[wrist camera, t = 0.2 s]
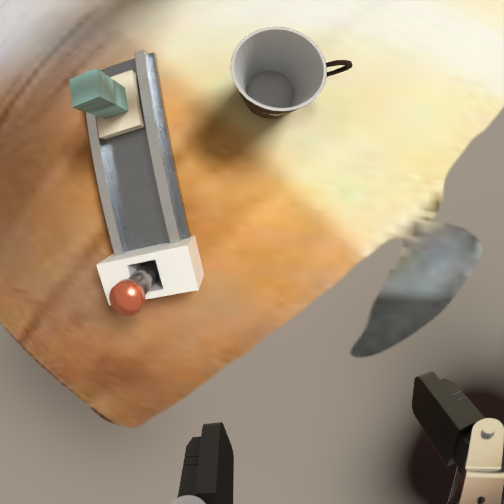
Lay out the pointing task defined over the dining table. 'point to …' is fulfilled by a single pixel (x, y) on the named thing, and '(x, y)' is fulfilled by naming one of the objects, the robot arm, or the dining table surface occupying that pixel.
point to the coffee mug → (280, 71)
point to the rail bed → (139, 170)
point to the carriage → (109, 101)
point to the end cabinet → (168, 263)
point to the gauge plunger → (134, 289)
